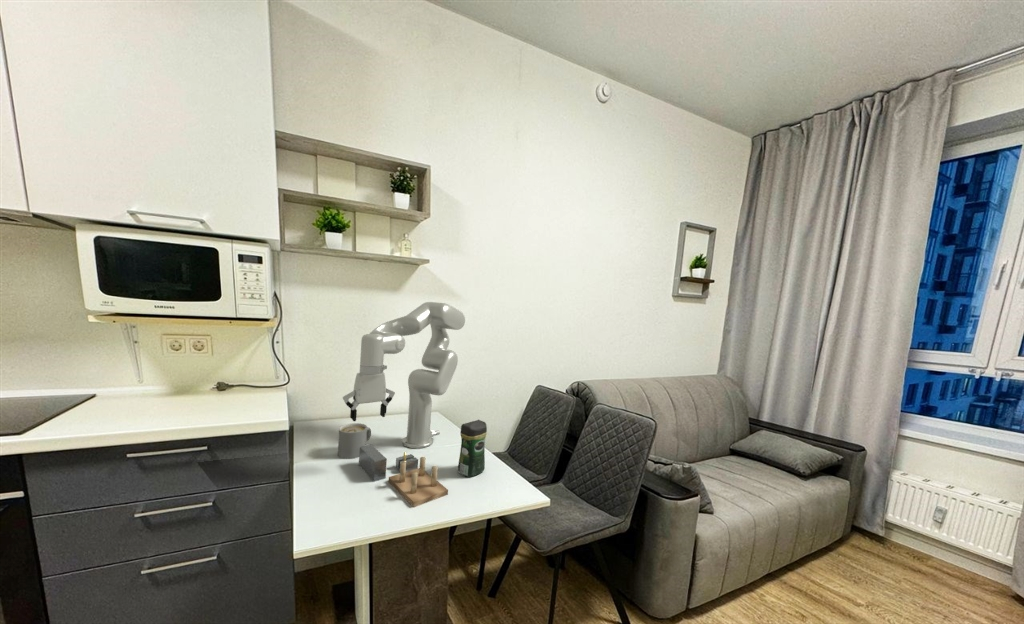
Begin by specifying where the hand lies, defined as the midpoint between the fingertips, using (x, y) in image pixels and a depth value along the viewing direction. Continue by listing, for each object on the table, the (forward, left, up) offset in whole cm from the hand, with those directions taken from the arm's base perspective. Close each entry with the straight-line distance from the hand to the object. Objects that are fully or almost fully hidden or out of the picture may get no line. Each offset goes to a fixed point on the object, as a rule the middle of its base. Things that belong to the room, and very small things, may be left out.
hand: (368, 417), depth 123 cm
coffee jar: (-31, +21, -19) cm, 42 cm away
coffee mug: (-3, -17, -19) cm, 26 cm away
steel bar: (-2, +1, -19) cm, 19 cm away
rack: (-10, +20, -19) cm, 29 cm away
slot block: (-13, +6, -19) cm, 24 cm away
